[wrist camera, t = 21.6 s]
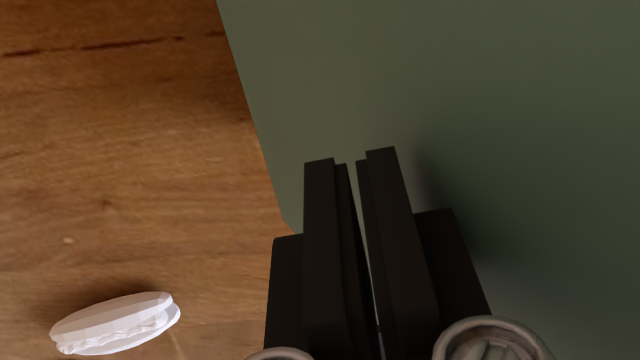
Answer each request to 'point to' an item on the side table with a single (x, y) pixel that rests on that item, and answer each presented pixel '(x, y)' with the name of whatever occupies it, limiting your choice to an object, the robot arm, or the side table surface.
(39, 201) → the side table surface
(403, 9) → the lid
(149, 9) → the side table surface
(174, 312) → the white oval capsule
